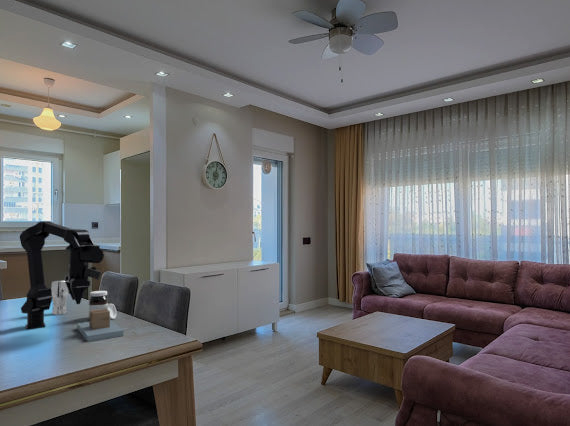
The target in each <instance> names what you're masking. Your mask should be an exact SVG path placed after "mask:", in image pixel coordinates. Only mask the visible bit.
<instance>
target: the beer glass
mask: <svg viewBox="0 0 570 426" xmlns="http://www.w3.org/2000/svg"><path fill="white" fill-rule="evenodd" d="M65 282H68V280H67V281H64V279H63V280H62V279H61V280H55V281H51V290H52V297H53V298H52V313H51V314H52V315H54V316H60V315H61V316H62V315H65V314H67V313H68V310H67V301H68V296H69V290H68V288H67V286H66V283H65Z"/></svg>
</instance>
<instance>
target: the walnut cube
mask: <svg viewBox="0 0 570 426" xmlns="http://www.w3.org/2000/svg"><path fill="white" fill-rule="evenodd" d="M110 320H111V319H110V311H109V310H107V309H101V310H93V311H90V319H89V321H88V322H89V327H90V328H91V329H92V330H94V329H101V328H107V327H110Z"/></svg>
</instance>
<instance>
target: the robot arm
mask: <svg viewBox="0 0 570 426" xmlns="http://www.w3.org/2000/svg"><path fill="white" fill-rule="evenodd" d="M50 235H53V236H55V237H59V238H62V239H63V241H64V242H65V243H67V244H69V245H68V246H66V247H65V250H66V251H69V258H68V259H69V260H68V264H67V267H68V273H66V274H65V275H64V277H63V278H64V279H63V280H64V281H68V282H65V283H66V286H67V288H68V294H69V295H70V297H71V299H72V301H75V303H76V305H80V304H81V302H82V297H83V295H84V292H85V290H86V289H88V288H90V286H91V280H90V279H89V278H92V279H94V280H99V279H100V278H101V274H103V273H102V271H100V270H98V269H97V267H96V266H90V267H89V266H88V264H90V263H91V264H99V263H101V262H103V259H104V256H105V255H104V252H103V250H102V249H101V247H100V246H101V245H97V244H95V243H94V241H93V238H92V237H91V235H90V233H89V231H88V230H86V229H80V228H70V227H66V226H63V225H60V224H57V223H55V222H51V221H50V220H49V221H46V220H45V221H42V220H41V221H38V222H37V223H36V224H33V225H32V226H30V227H28V228H26V229H25V230H23V231H21V233H20V235H19V241H20V244H21V247H22V248H23V250H24V251H25V252H26V258H27V264H28V266H27V267H28V276H29V277H28V278H29V284H30V288H29V290H28V291H27V293H26V300H25V302H24V303H23V305H22V306H21V307H20V310H21V314H26V316H27V317H26V321H27V322H26V323H27V324H25V325H24V326H25V329H26V330H31V329H36V328H43V327H46V323H45V322H44V321H45V311H47V310H50V308H51V304H52V303H53V301H52V298H53V297H52V290H51V288H48V286H47V285H46V284H45V283H46V282H45V274H44V266H43V265H44V264H43V256H42V254H43V253H42V250H43V248H44V246H45V244H46V239H47V238H48V237H49V236H50ZM87 263H88V264H87Z"/></svg>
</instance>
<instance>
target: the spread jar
mask: <svg viewBox="0 0 570 426" xmlns="http://www.w3.org/2000/svg"><path fill="white" fill-rule="evenodd" d="M88 300H89V301H88V318H89V319H90V311H93V310H101V309H107V310H109V311H110V320H114V319H116V318H117V315H118V314H117V313H118V311H117V308H116V306H115V304H114V303H109V297H108V291H107V290H95V291H91V292H90V295H89V299H88Z"/></svg>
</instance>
